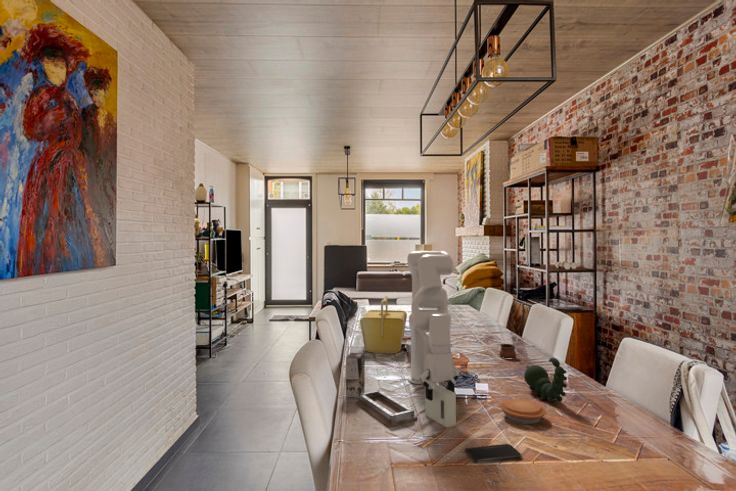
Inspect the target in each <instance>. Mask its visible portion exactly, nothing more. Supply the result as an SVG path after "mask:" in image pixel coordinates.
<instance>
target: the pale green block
mask: <svg viewBox="0 0 736 491" xmlns="http://www.w3.org/2000/svg"><path fill="white" fill-rule="evenodd" d="M431 389H433V400H432V401H430V400H428V399H426V395H425V394H424V412H425V413H424V416H426V417H427V418H430V419H431V420H433V421H434V422H437V423H438V424H440V425H442V426H443V427H445V428H451V427H453V426H456V425H457V423H456V422H457V421H456V420H457V418H456V416H457V413H456V412H457V410H456V409H457V402H456V401H457V398H456V396H457V395H456V394H457V393H456V392H455V391H454V392H452V391H450V390H447V388H445V387H443V386H441V385H439V384H437V383H434V384H433V386H432V388H431Z"/></svg>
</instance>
